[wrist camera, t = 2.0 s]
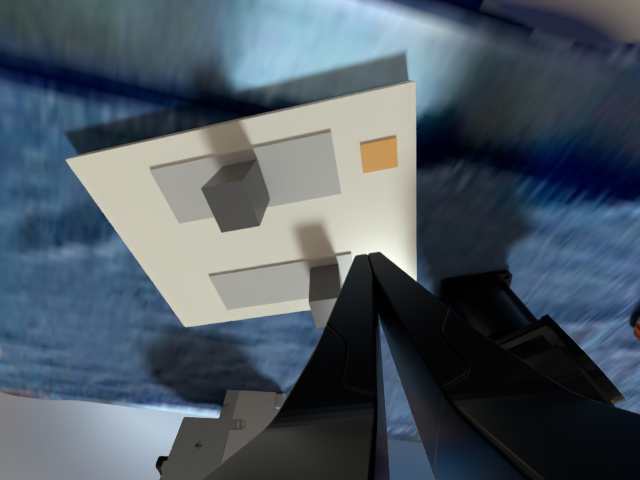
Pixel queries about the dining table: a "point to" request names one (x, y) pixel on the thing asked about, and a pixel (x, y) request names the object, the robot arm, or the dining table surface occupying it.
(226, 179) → the block
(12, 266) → the dining table surface
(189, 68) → the dining table surface
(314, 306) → the block
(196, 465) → the circuit breaker
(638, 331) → the soda can
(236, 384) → the dining table surface
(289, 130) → the board
